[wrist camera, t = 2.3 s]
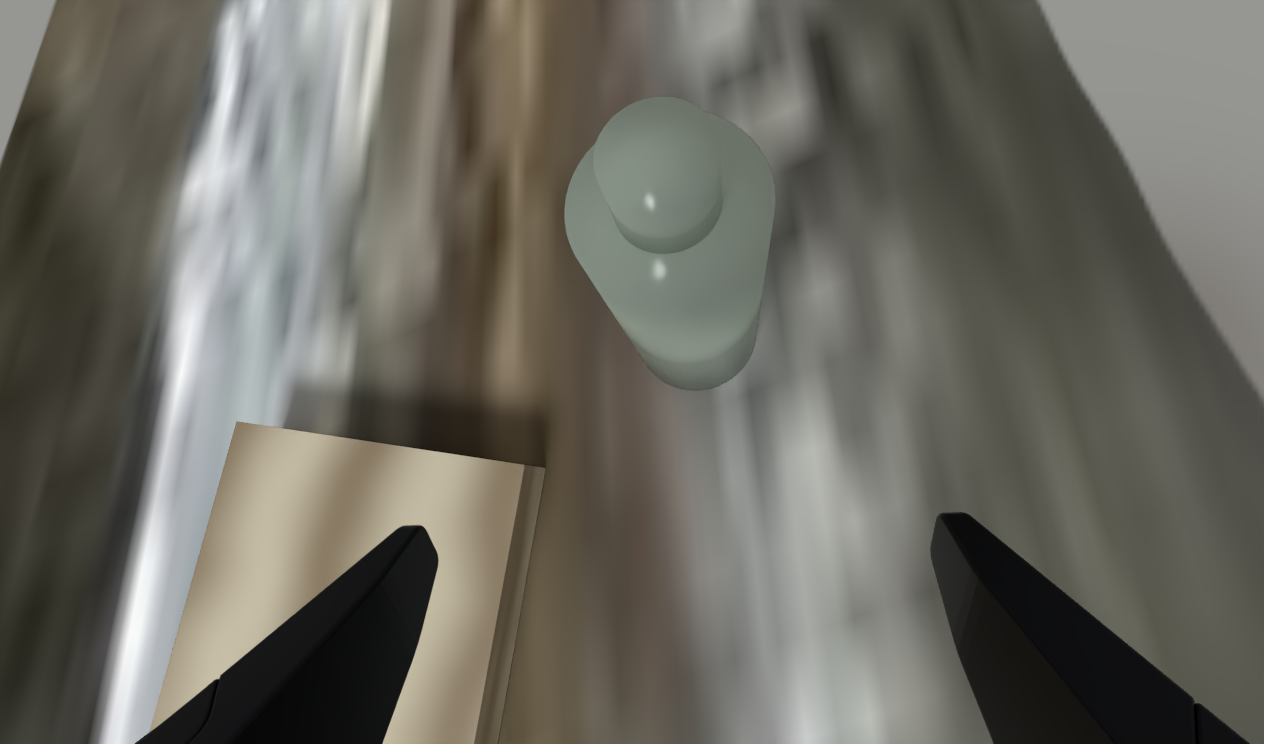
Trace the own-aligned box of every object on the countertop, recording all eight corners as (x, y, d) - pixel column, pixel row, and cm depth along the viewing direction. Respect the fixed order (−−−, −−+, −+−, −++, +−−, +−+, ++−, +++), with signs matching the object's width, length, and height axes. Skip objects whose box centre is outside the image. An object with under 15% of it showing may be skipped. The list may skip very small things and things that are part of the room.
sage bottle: (761, 281, 24) (794, 45, 11) (749, 397, 23) (769, 278, 10) (646, 272, 25) (559, 46, 12) (629, 383, 24) (516, 260, 11)
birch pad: (545, 468, 24) (524, 464, 21) (485, 813, 21) (453, 854, 19) (282, 428, 26) (236, 421, 24) (201, 732, 24) (141, 759, 22)
